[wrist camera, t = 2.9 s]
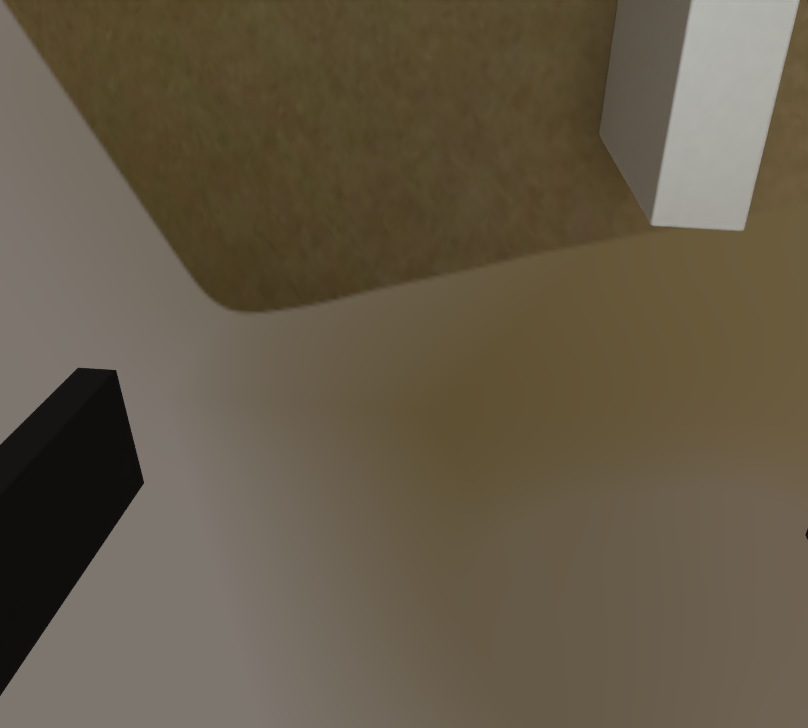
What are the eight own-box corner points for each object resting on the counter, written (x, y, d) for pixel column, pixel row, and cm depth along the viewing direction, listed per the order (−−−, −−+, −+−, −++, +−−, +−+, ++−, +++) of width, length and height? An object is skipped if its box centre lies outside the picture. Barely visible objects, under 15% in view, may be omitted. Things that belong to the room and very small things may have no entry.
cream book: (598, 136, 33) (650, 226, 20) (630, -95, 29) (722, -174, 16) (654, 138, 33) (744, 231, 20) (694, -94, 29) (843, -175, 16)
